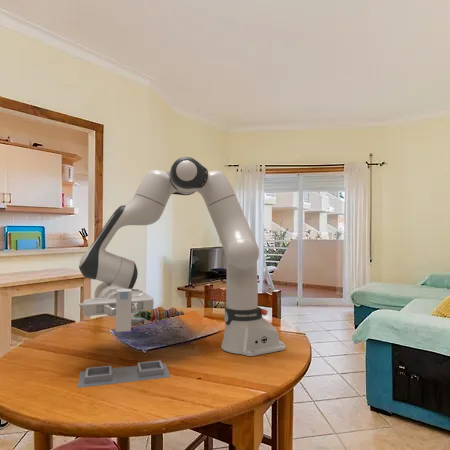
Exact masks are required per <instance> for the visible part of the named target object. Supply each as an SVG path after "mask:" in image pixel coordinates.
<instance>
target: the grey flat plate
mask: <svg viewBox="0 0 450 450" xmlns="http://www.w3.org/2000/svg"><path fill="white" fill-rule="evenodd" d="M165 378H172V376H171V373H170V371H169V369H168V367H167V364H166V362H162V360H152V361H143V362H137V365H133V366H132V365H131V366H122V367H121V366H120V367H113V368H112V365H103V366H94V367H93V366H92V367H86V368H85V370H82V371H80V372H79V376H78V382H77V383H78V384H77V389H81V388H89V387H95V386H97V387H99V386H104V385H114V384H123V383H131V382H140V381H148V380H157V379H165Z"/></svg>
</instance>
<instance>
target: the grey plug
mask: <svg viewBox="0 0 450 450" xmlns="http://www.w3.org/2000/svg"><path fill="white" fill-rule="evenodd" d="M131 303H132V290H131V289H116V316H115V329H114V330H115V333H119V332H121V333H122V332H131V331H132V330H131V314H132V313H131Z"/></svg>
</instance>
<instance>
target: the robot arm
mask: <svg viewBox="0 0 450 450" xmlns="http://www.w3.org/2000/svg"><path fill="white" fill-rule="evenodd" d="M196 192H197V193H198V194H200V195H201V197H202V198H203V200H204V203H205V206H206V208H207V211H208V213H209V216H210V218H211V221H212V222H213V226H214V228H215V231H216V233H217V236H218V238H219V240H220V241H219V242H220V244H221V246H222V249H223V252H224V253H225V256H226V282H225V284H226V289H225V296H226V297H225V307H224V318H223V319H224V323H225V324H224V331H223V338H222V342H221V345H220V347H221V349H222V350H223V351H225V352H227V353H231V354H238V355H244V356H247V357H255V356H260V355H265V354H270V353H276V352H279V351H280V352H281V351H285V350H286V344H285V342H284V341H282V340H280V337H279V333H278V330H277V328H276V326H274V325H273V324H271V323H270V322H269V321H267V320H266V319H265V318H264V317H263V316H267V315H268V310H267V309H265V308H261V307H260V306H258V304H259V303H258V302H259V301H258V297H259V296H258V294H259V287H258V286H259V285H258V284H259V281H258V260H259V256H260V248H259V246H258V244H257V241H256V238H255V236H254V235H253V232H252V230H251V228H250V224H249V223H248V220H247V218H246V216H245V214H244V211H243V210H242V207H241V205H240V202H239V199H238V197H237V194H236V193H235V190H234V189H233V186H232V184H231V183H230V181H229V179H228V178H227V176H226V175H225V173H224V172H222V171H221V170H217V169H216V170H210V171H208V168H206V167H205V166H204V165H202V164H201V163H200V162H199V161H198V160H196V159H195V158H193V157H190V156H182V157H180V158H179V157H178V158H177V159H176V160H175V161H174V162H173V163H172V165H171V167H170V171H163V170H161V169H151V170H149V171H148V172H147V173H146V174H145V176H144V177H143V178H142V180H141V182H140V184H139V185H138V187H137V189H136V191H135V193H134V195H133V197H132V199H130V200H131V201H129V202H128V203H126V204H125V205H120V206H118V207H117V208H116V209H115V211H114V212H113V214H112V215H111V216H110V217H109V219H108V220H107V221H106V223H105V225H104V226H103V227H102V229H101V231H100V232H99V234H98V235H97V236H96V238H95V240H94V241H93V242H92V244H91V245H90V247H89V248H88V249H87V250H86V251H85V253H83V255H82V256H81V258H80V259H79V260H80V261H79V264H78V265H79V266H78V269H79V271H80V273H81V275H82V276H83V277H84V278H86V279H90V280H96V281H99V282H101V283H99V284H98V285H97V286H96V287H95V290H94V294H93V295H94V296H93V297H94V298H86V299H84V300H83V301H82V302H80V303H79V304H78V305H79V307H80V308H81V309H82V315H83V316H84V317H91V316H102V315H107V316H109V317H112V318H114V317H115V318H116V289H131V290H132V303H131V314H132V313H137V312H139V311H151V310H153V309H154V304H155V303H154V298H153V297H152V296H151V295H149V294H148V293H145V292H143V290H142V289H134V287H135V284H136V282H137V279H138V275H139V272H138V267H137V265H136V262H135V261H133V260H131V259H128V258H126V257H123V256H119V255H117V254H114V253H111V252H109V251H106V248H107V247H108V245H109V244H110V243H111V241H112V240H113V238H114V236H115V235H116V233H117V232H118V230H120V229H121V228H123V227H126V226H148V225H149V226H150V225H153V224H155V223H156V222H158V221H159V220H160V218H161V217H162V215H163V213H164V211H165V209H166V206H167V204H168V202H169V199H170V197H171V196H172V195H179V196H190V195H193V194H195V193H196Z"/></svg>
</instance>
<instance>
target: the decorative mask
mask: <svg viewBox="0 0 450 450" xmlns="http://www.w3.org/2000/svg"><path fill="white" fill-rule="evenodd" d="M184 314H187V313H185V312H184V311H182V310H180V311H178V310H177V308H175V307H174V306H173V307H171V308H169V309H166V308H164V307H162V306H159V307H156V308H153V310H151V311H139V312H137V313H131V326H137V325H140V324H144V323H149V322H154V321H158V320H162V319H167V318H170V317H175V316H179V315H184Z"/></svg>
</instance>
